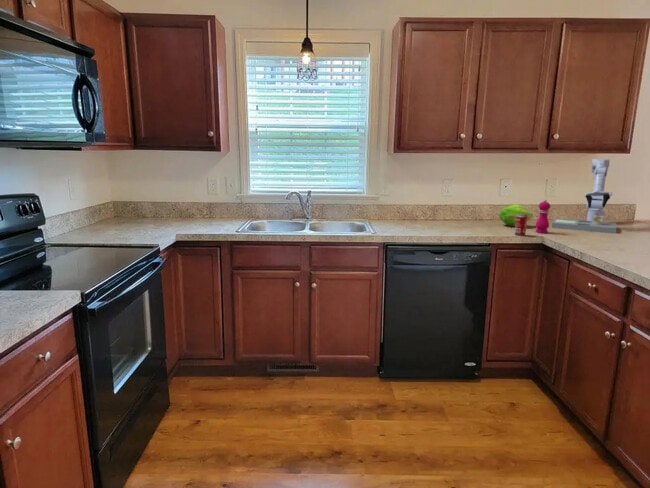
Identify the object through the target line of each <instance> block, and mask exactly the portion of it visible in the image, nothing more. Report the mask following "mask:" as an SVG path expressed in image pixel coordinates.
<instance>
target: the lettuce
mask: <svg viewBox="0 0 650 488" xmlns="http://www.w3.org/2000/svg"><path fill="white" fill-rule="evenodd" d="M517 214H525V215H526V216H527V222H529V220H531V219H532V218H533V217H534V213H533V212H532V211H531V210H529V209H527V208H526V207H525V206H523V205H520V204H517V203H513V204H510V205H506V206H505V207H502V209H501V210H500V211H499V214H498V217H499V219H500V221H502V223H504V224H505V225H507V226H508V227H515V223H516V216H517Z"/></svg>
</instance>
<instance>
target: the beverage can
mask: <svg viewBox="0 0 650 488" xmlns="http://www.w3.org/2000/svg"><path fill="white" fill-rule="evenodd" d="M527 223H528V221H527V216H526V215H525V214H517V216H516V223H515V226H514V235H515V236H517V235H518V236H519V237H525V235H526V233H527V232H526V231H527Z"/></svg>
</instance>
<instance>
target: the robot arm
mask: <svg viewBox="0 0 650 488" xmlns="http://www.w3.org/2000/svg"><path fill="white" fill-rule="evenodd" d="M591 161H592V162H591V169H590V171H591V173H593V175H594V176H593V177H594V178H593V179H594V181H593V188H592V191H590V192H584V197H585V198H586V206H585V208H586V210H587V215H586V221H593V217H594V215H596V216H603V222H605V216H606V215H605V214H606V212H605V211H604V208H605V207H606V205H607V202H608V201H609V200H610V198H611V197H612V196H613V192H612V191H605V186H606V184H605V183H606V178H607V174H608V171H609V167H610V158H593V159H592V160H591Z"/></svg>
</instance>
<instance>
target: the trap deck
mask: <svg viewBox="0 0 650 488" xmlns="http://www.w3.org/2000/svg"><path fill="white" fill-rule="evenodd" d="M617 226H618V225H617V222H606V221H604V222H602V225H595V224H593V221H587V220H584V219H581V220H580V219H568V218H560V217H559V218H558V217H556V218H555V219H554V221H552V223H551V228H554V229H564V230H575V231H586V232H596V233H597V232H598V233H609V234H617Z"/></svg>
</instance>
